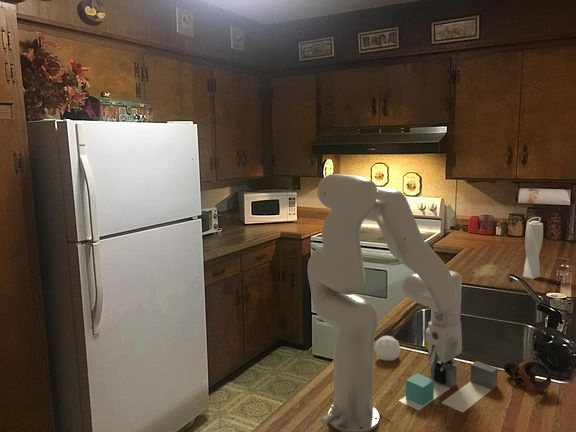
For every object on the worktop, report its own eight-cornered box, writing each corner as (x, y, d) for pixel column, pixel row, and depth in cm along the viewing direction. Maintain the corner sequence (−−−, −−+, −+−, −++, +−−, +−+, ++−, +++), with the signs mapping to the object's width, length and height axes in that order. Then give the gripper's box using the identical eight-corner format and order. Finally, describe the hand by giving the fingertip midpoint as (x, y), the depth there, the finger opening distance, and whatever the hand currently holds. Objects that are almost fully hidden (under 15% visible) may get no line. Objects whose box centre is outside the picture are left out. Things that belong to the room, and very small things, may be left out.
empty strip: (462, 416, 118) (463, 393, 117) (440, 406, 122) (441, 384, 121) (496, 389, 130) (497, 368, 129) (475, 380, 134) (476, 360, 133)
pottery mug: (545, 380, 135) (556, 364, 130) (541, 408, 129) (552, 393, 123) (501, 362, 139) (509, 346, 134) (495, 389, 133) (503, 373, 128)
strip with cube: (418, 414, 119) (419, 391, 118) (398, 404, 124) (398, 382, 123) (456, 387, 131) (456, 366, 130) (436, 379, 136) (437, 359, 134)
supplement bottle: (429, 356, 150) (429, 327, 148) (422, 348, 155) (423, 320, 153) (445, 354, 150) (446, 326, 149) (438, 347, 156) (439, 319, 154)
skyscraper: (528, 273, 230) (532, 215, 226) (543, 276, 224) (548, 217, 220) (519, 276, 226) (522, 217, 221) (535, 280, 220) (539, 220, 215)
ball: (383, 365, 151) (383, 339, 154) (405, 363, 145) (405, 337, 149) (369, 360, 146) (369, 334, 150) (391, 358, 141) (391, 331, 144)
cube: (422, 405, 121) (423, 387, 120) (405, 397, 125) (406, 380, 124) (433, 398, 124) (434, 380, 124) (416, 390, 128) (417, 373, 127)
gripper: (441, 329, 121) (439, 396, 124) (473, 312, 131) (471, 374, 135) (415, 321, 126) (414, 385, 129) (448, 305, 137) (446, 365, 140)
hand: (443, 379), depth 132 cm, fingers closed on strip with cube, 3 cm apart
